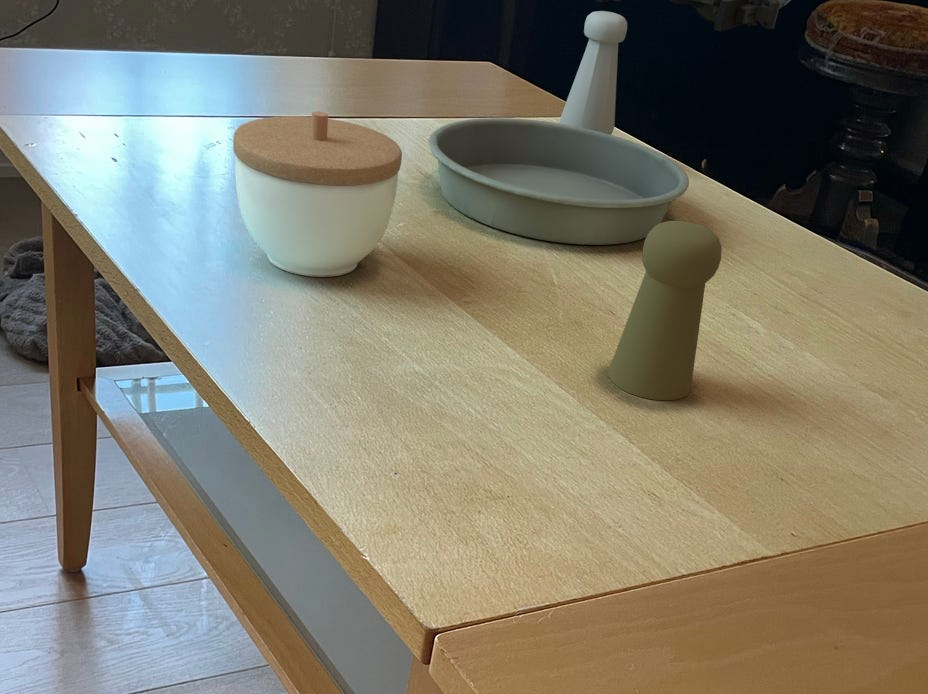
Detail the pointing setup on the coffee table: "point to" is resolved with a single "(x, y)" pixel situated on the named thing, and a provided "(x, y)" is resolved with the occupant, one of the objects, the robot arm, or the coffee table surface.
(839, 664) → the coffee table surface
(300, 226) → the lidded bowl
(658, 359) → the olive pawn figure
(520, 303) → the coffee table surface
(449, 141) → the cake pan
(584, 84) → the salt shaker
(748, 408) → the coffee table surface
